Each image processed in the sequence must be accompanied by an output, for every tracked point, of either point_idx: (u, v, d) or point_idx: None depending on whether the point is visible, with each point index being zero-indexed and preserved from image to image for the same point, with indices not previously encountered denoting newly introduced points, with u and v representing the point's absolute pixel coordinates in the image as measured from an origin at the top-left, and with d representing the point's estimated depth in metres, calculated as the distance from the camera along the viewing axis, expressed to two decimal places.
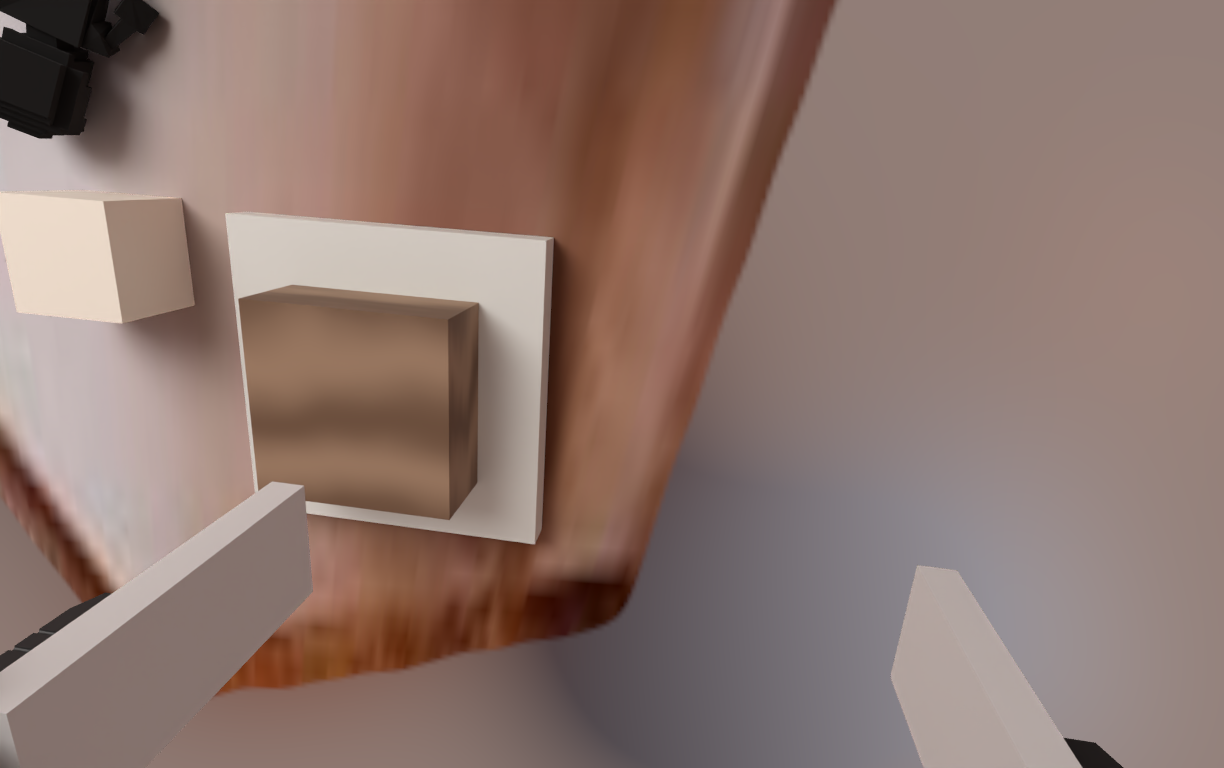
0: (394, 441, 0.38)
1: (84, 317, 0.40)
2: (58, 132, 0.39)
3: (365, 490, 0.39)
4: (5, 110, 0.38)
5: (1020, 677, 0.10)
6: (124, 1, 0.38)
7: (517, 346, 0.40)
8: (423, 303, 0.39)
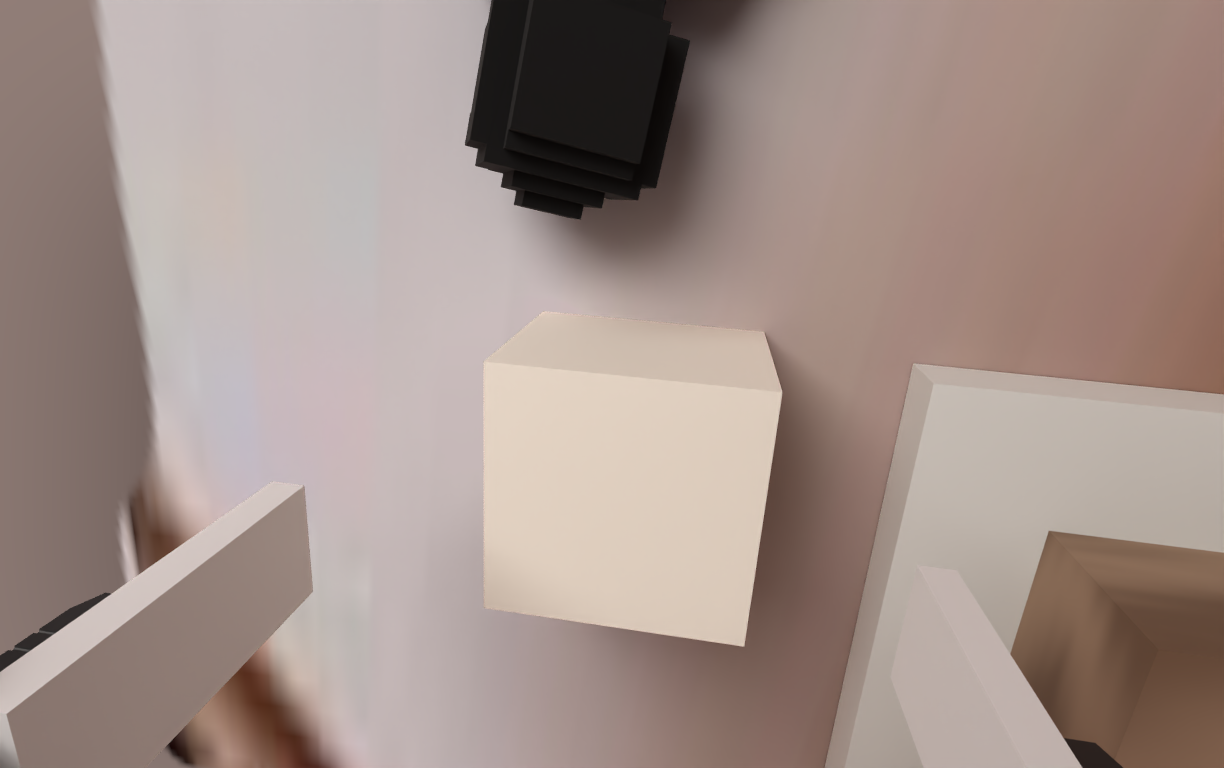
0: None
1: (650, 629, 0.17)
2: (637, 195, 0.17)
3: None
4: (537, 166, 0.16)
5: (1020, 677, 0.10)
6: None
7: None
8: None
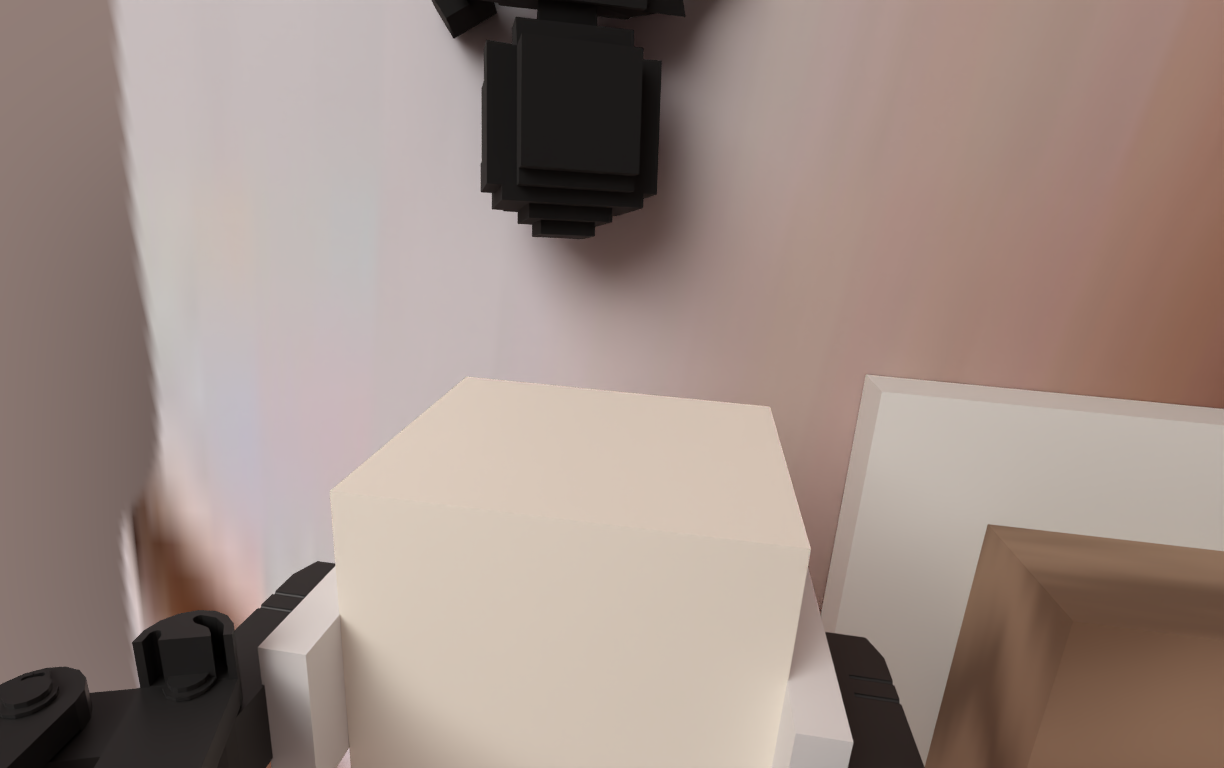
0: None
1: None
2: (641, 203, 0.18)
3: None
4: (548, 195, 0.18)
5: (811, 586, 0.12)
6: None
7: None
8: None
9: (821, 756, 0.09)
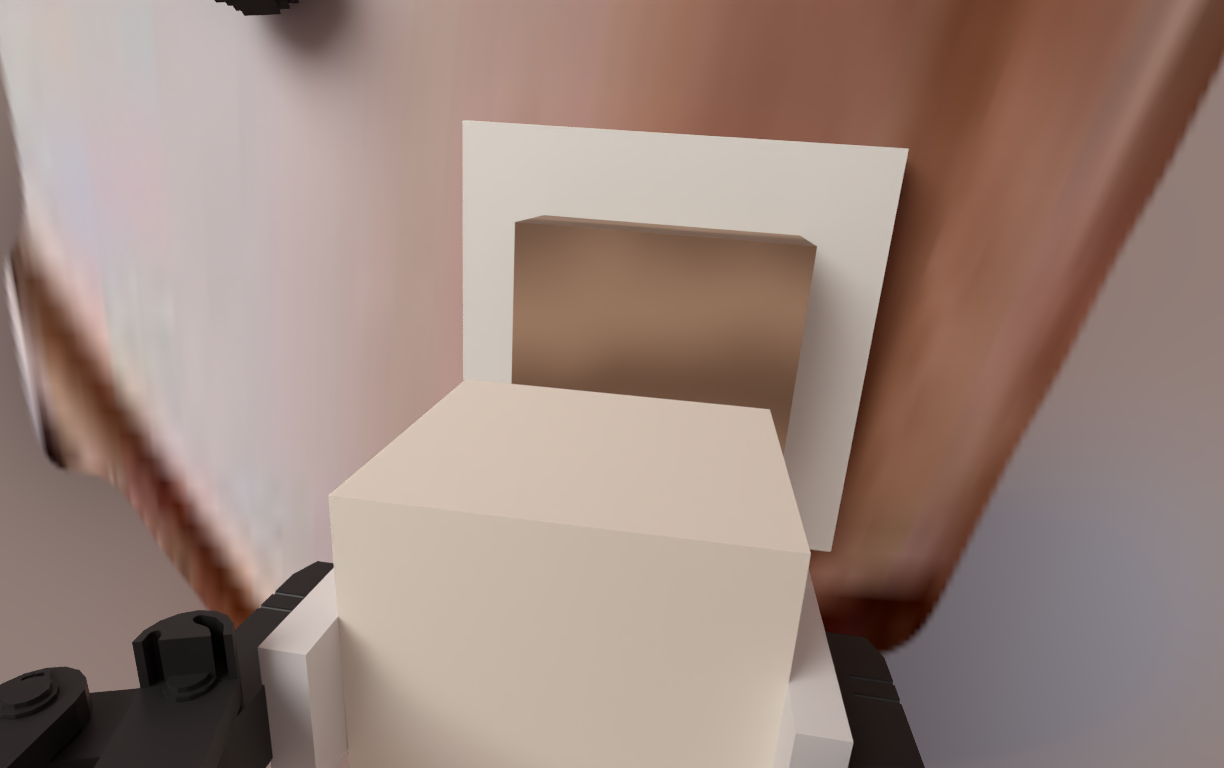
0: None
1: None
2: None
3: None
4: None
5: (811, 586, 0.12)
6: None
7: (845, 293, 0.31)
8: (741, 233, 0.29)
9: (822, 756, 0.09)
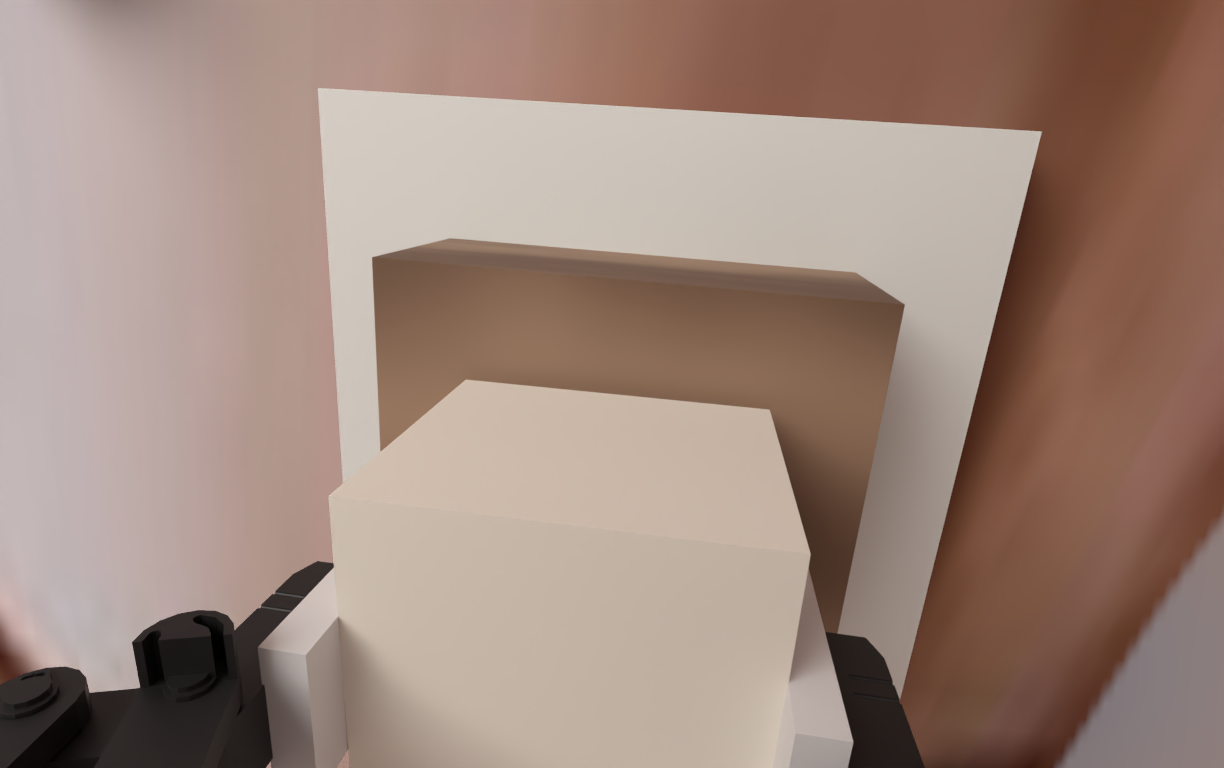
0: None
1: None
2: None
3: None
4: None
5: (811, 587, 0.12)
6: None
7: (926, 363, 0.19)
8: (763, 272, 0.18)
9: (821, 756, 0.09)
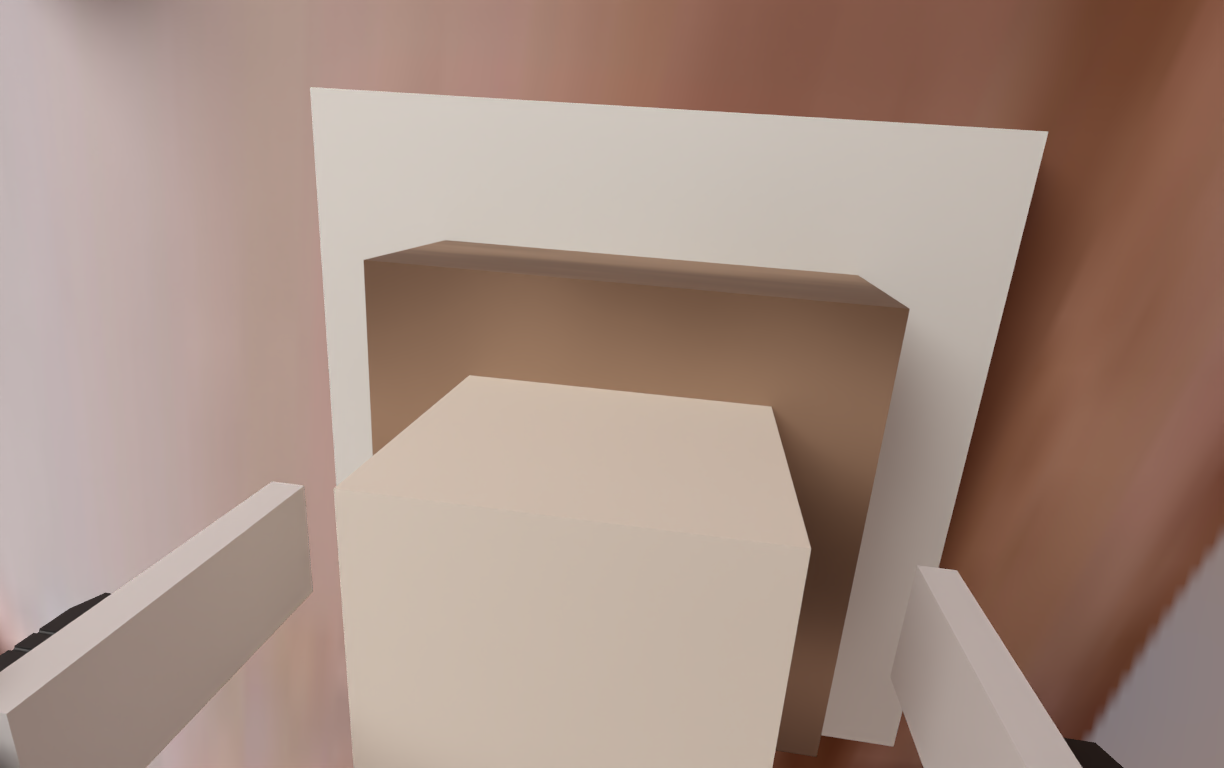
0: None
1: None
2: None
3: None
4: None
5: (1019, 677, 0.10)
6: None
7: (930, 367, 0.19)
8: (763, 275, 0.17)
9: None
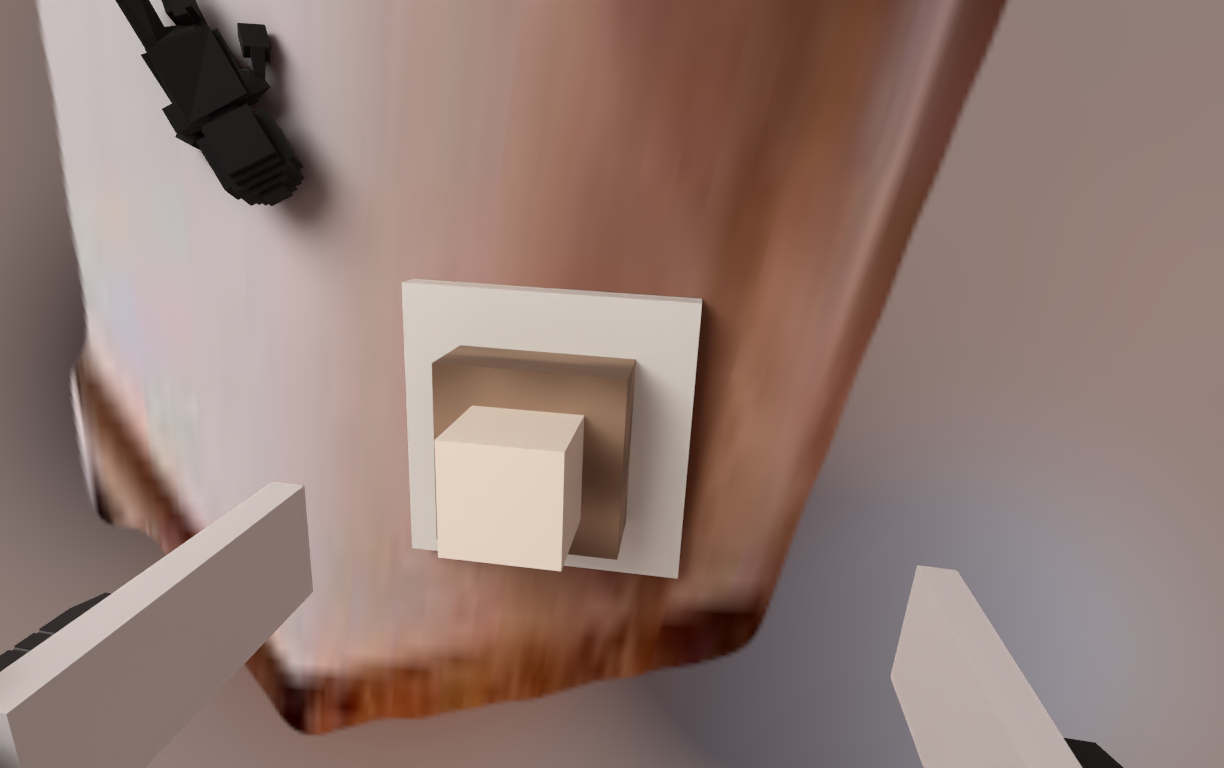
0: None
1: (517, 564, 0.36)
2: (289, 163, 0.42)
3: None
4: (251, 181, 0.42)
5: (1020, 677, 0.10)
6: (240, 32, 0.42)
7: (670, 397, 0.44)
8: (590, 362, 0.42)
9: None
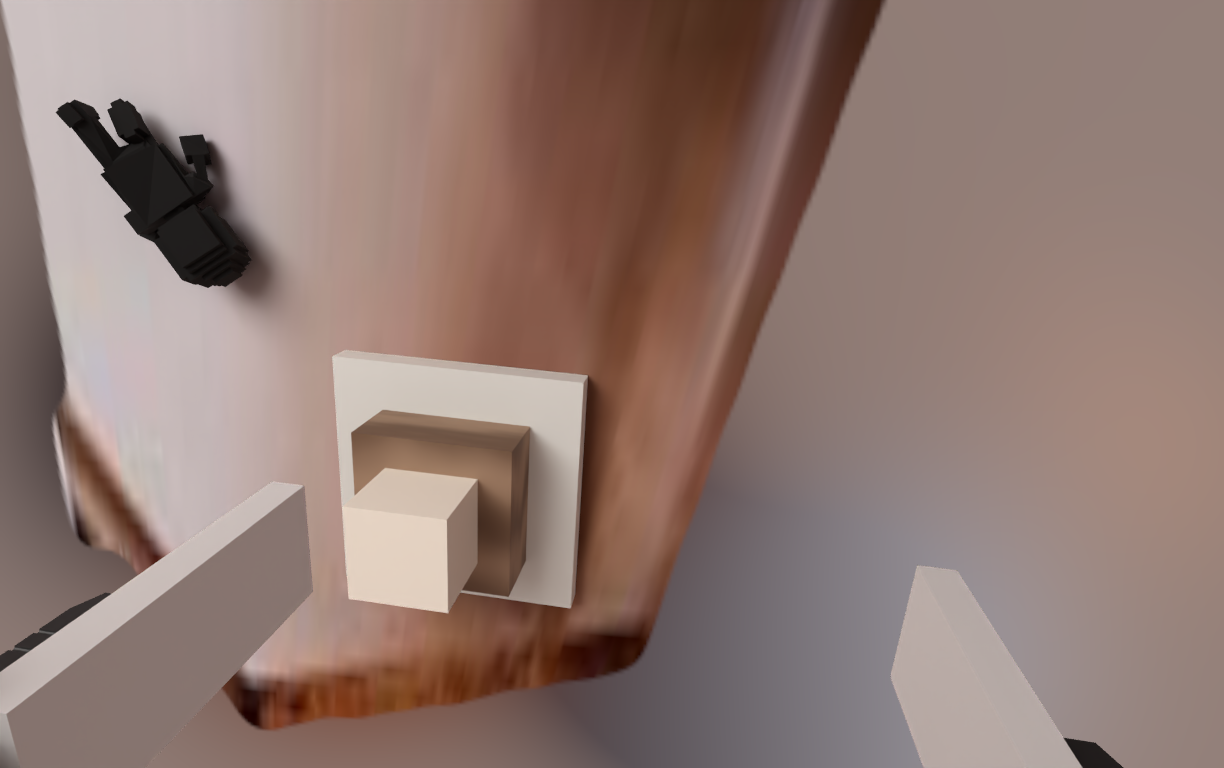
0: None
1: (412, 606, 0.44)
2: (234, 250, 0.49)
3: None
4: (203, 269, 0.49)
5: (1019, 677, 0.10)
6: (182, 144, 0.49)
7: (559, 459, 0.52)
8: (488, 430, 0.50)
9: None
